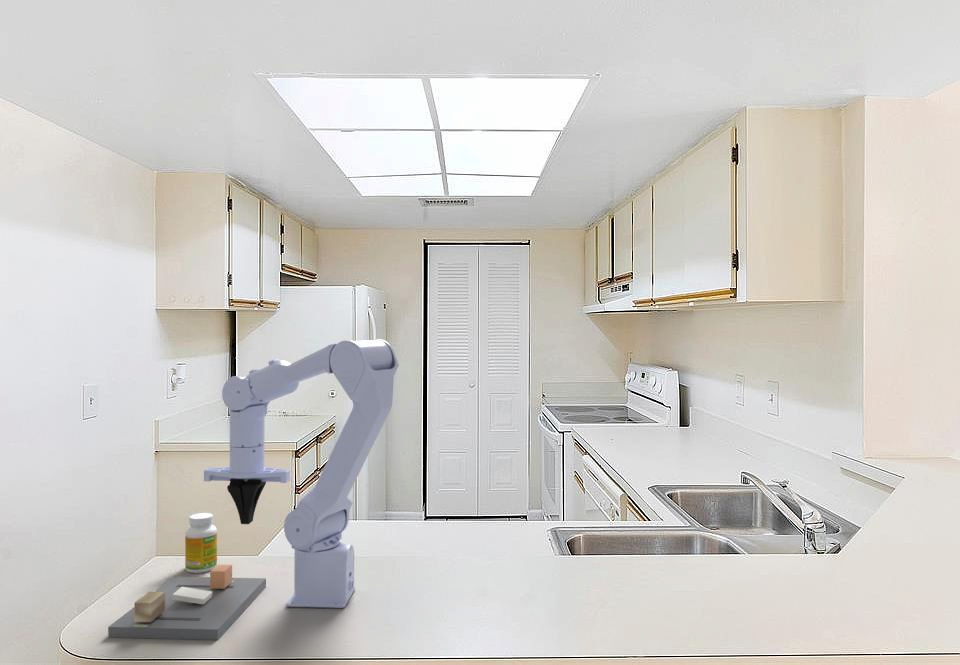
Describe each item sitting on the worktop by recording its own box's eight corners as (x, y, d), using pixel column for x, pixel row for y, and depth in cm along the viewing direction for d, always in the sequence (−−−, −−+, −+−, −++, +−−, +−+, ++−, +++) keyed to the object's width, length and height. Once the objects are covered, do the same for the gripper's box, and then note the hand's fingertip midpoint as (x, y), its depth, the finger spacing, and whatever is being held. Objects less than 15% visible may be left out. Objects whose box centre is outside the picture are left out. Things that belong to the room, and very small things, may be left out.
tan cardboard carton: (164, 610, 100) (164, 591, 100) (150, 622, 96) (150, 602, 96) (149, 609, 100) (149, 591, 100) (134, 621, 96) (134, 602, 96)
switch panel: (265, 587, 114) (265, 576, 114) (217, 639, 95) (217, 626, 95) (174, 585, 114) (174, 574, 114) (108, 637, 96) (108, 624, 95)
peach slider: (232, 581, 112) (232, 564, 111) (224, 588, 109) (224, 571, 108) (218, 581, 112) (218, 564, 112) (210, 588, 109) (210, 571, 109)
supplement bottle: (205, 574, 119) (205, 520, 119) (178, 572, 120) (178, 519, 120) (222, 564, 125) (222, 512, 124) (197, 562, 126) (197, 510, 125)
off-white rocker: (211, 596, 106) (212, 591, 106) (203, 604, 103) (204, 599, 103) (181, 591, 106) (182, 586, 106) (171, 599, 103) (172, 594, 103)
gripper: (295, 441, 119) (295, 516, 120) (216, 439, 120) (216, 514, 120) (282, 448, 112) (282, 528, 113) (198, 447, 113) (197, 526, 113)
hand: (246, 522), depth 116 cm, fingers closed
